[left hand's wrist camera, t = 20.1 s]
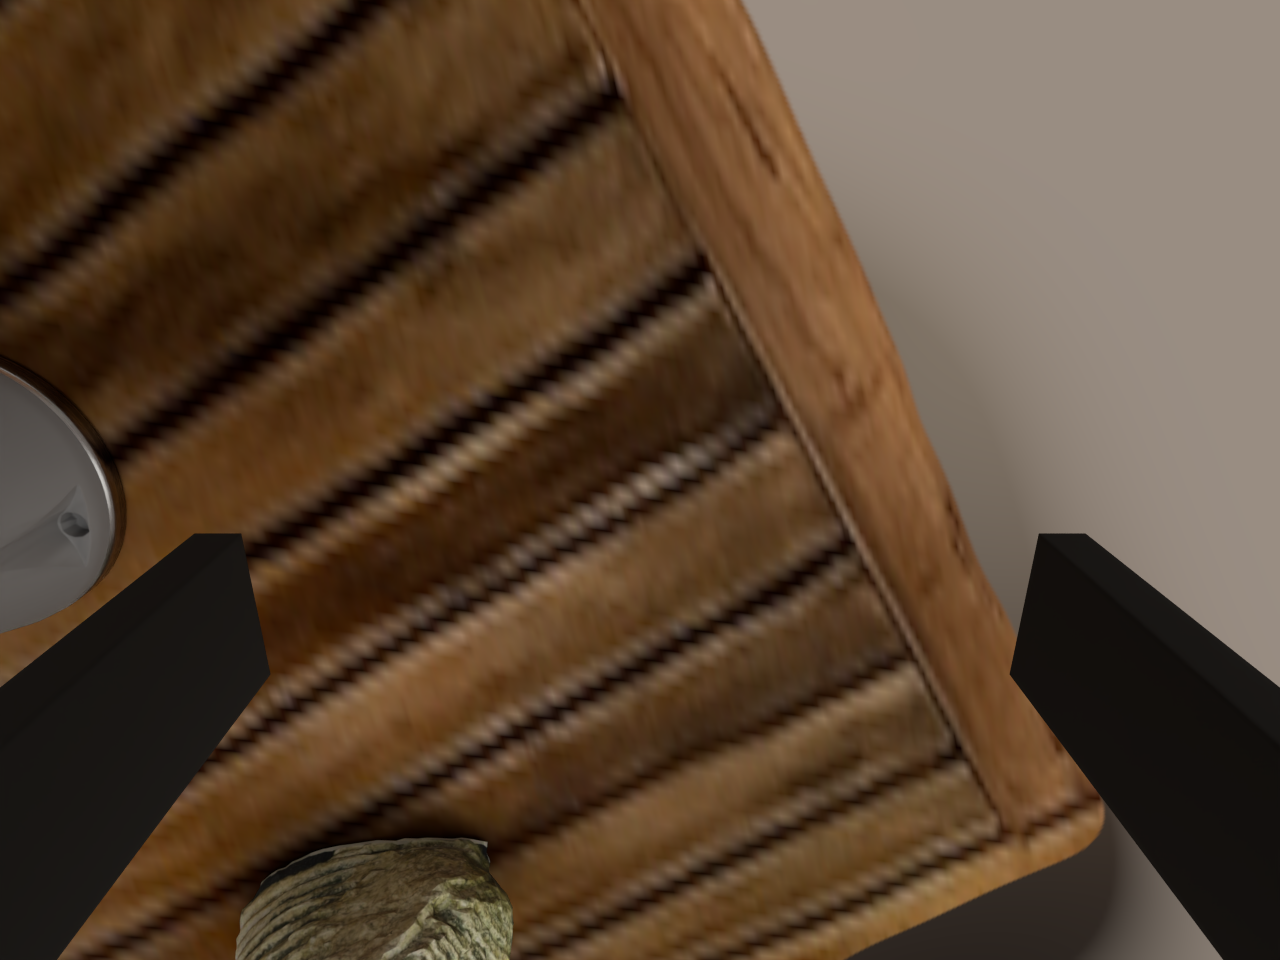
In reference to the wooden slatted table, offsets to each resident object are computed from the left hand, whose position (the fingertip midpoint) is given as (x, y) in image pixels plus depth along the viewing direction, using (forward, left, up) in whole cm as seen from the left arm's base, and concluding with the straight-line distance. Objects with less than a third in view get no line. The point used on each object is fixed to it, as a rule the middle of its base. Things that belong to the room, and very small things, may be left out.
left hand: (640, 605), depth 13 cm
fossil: (-34, -20, -26) cm, 48 cm away
